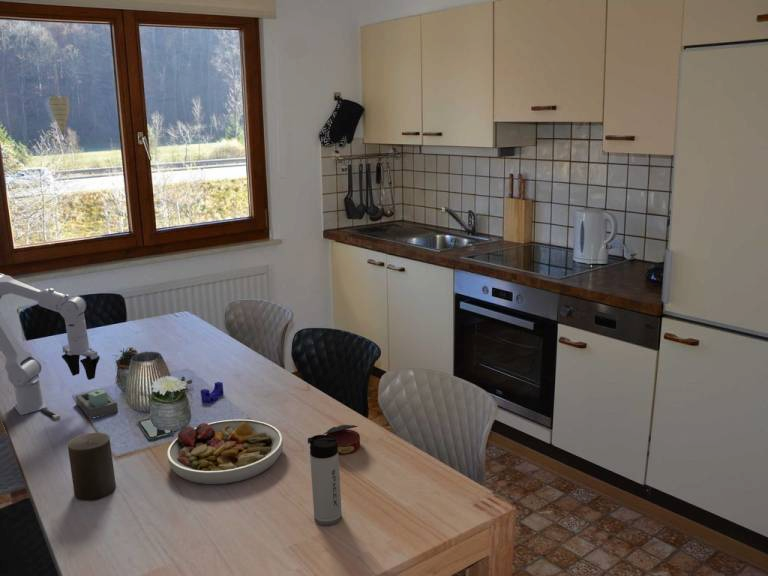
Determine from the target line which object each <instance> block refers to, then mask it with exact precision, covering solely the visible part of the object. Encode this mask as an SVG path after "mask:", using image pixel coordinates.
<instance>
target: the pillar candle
mask: <svg viewBox="0 0 768 576" xmlns="http://www.w3.org/2000/svg"><path fill="white" fill-rule="evenodd" d="M67 449H68V457H69V458H68V459H69V466H70V472H71V473H70V474H71V478H72V479H71V480H72V487H73V495H74V497H75V498H76V499H77V500H79V501H84V502H86V501H89V502H92V501H98V500H101V499H103V498H106V497H108V496H110V495H112V494H113V493H114V492H115V491H116V488H117V482H116V477H115V467H114V461H113V454H112V444H111V438H110V436H109V434H108V433H105V432H104V433H103V432H89V433H84V434H80V435H77V436H76V437H75V436H74V437H73V438H72V439H70V440H69V442H67Z"/></svg>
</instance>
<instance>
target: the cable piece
mask: <svg viewBox="0 0 768 576" xmlns="http://www.w3.org/2000/svg"><path fill="white" fill-rule="evenodd" d="M40 411H41V412H42V413H44V414H45V415H48V416H49V417H51V418H52V419H53V420H55V421H58V420H60V419H61V416H60V415H59V414H57V413H54V412H52V411H50V410H49V409H48V408H46V409H45V408H42V409H41V410H40Z"/></svg>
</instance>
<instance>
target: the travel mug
mask: <svg viewBox="0 0 768 576" xmlns="http://www.w3.org/2000/svg"><path fill="white" fill-rule="evenodd" d="M307 444H308V445H309V455H310V457H309V459H310V471H311V472H310V473H311V490H312V491H311V492H312V501H313V502H312V503H313V505H312V506H313V516H314V517H313V518H314V521H315V523H316V524H318V525H320V526H329V527H330V526H333V525H335V524H338V523H339V522H340V521H341V520H342V517H343V513H342V498H341V497H342V496H341V479H340V478H341V477H340V475H341V474H340V461H339V458H340V457H339V455H338V444H337V441H336V439H335V438H334V437H332V436H329V435H326V434H316V435H313V436H310V437H308V438H307Z"/></svg>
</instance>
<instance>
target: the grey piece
mask: <svg viewBox="0 0 768 576" xmlns="http://www.w3.org/2000/svg"><path fill="white" fill-rule="evenodd" d="M99 389H100V390H103V389H102V388H98V389H95V390H91V391H88V392H84V393H83V392H82V393H80V394H77V395H75V401H76V405H77V406H78V407H79V408H80V409H81V410H82V411H83V412H84V411H85V412H86V413H87V414H88V415H89V416H90V417H91V418H90V417H89V416H88V415H87V414H86V413H85V412H84V413H85V414H86V415H87V416H88V417H89V418H90V419H92V418H93V417H97V416H101V417H103V416H102V415H104V416H107V415H111V414H115V413H117V412H119V409H118V402H117V401H116V400H114V399H113V398H112V397H111V396H110V395H109V394H107V398H108V404H104V405H101V406H97V407H94V408H93V407H92V406H91V405H90V404H89V397H88V393H91V392H93V391H96V390H99ZM110 413H111V414H110ZM106 414H107V415H106ZM97 418H98V417H97Z"/></svg>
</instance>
